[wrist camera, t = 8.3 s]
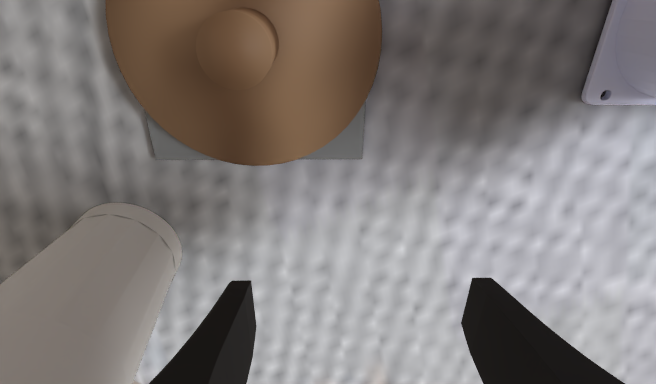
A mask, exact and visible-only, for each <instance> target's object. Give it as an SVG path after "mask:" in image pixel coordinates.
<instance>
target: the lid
mask: <svg viewBox="0 0 656 384" xmlns="http://www.w3.org/2000/svg"><path fill="white" fill-rule="evenodd" d="M106 20H107V27H108V34H109V38H110V42H111V45H112V49H113V53H114V56H115V58H116V61H117V63H118V66H119V68H120V71H121V73H122V75H123V77H124V79H125V81H126V82H127V84H128V86H129V88H130V90H131V91H132V93H133V94H134V96H135V97H136V99H137V100H138V102H139V103H140V104H141V105H142V107H143V108H144V109H145V110H146V111H147V113H148V114H149V115H150V116H151V117H152V118H153V119H154V120H155V121H156V122H157V123H158V124H159V125H160V126H161V127H162V128H163V129H164V130H166V131H167V132H168V133H169V134H171V135H172V136H173V137H175V138H176V139H177V140H179V141H180V142H182V143H184V144H185V145H187V146H189V147H190V148H192V149H194V150H196V151H198V152H200V153H202V154H204V155H207V156H209V157H212V158H215V159H218V160H221V161H225V162H230V163H234V164H241V165H251V166H259V165H274V164H281V163H285V162H289V161H293V160H296V159H299V158H302V157H304V156H306V155H309V154H311V153H313V152H315V151H316V150H318V149H320V148H322V147H324V146H325V145H326V144H328V143H329V142H330V141H332V140H333V139H334V138H336V137H337V136H338V135H339V134H340V133H341V132H342V131H343V130H344V129H345V128H346V127H347V126H348V125H349V124H350V122H351V121H352V120H353V119H354V117H355V116H356V115H357V113H358V112H359V110H360V109H361V107H362V105H363V104H364V102H365V100H366V98H367V96H368V94H369V92H370V89H371V87H372V85H373V82H374V79H375V75H376V72H377V69H378V64H379V59H380V53H381V41H382V23H381V10H380V5H379V0H106Z"/></svg>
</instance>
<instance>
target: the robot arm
mask: <svg viewBox="0 0 656 384" xmlns="http://www.w3.org/2000/svg"><path fill="white" fill-rule="evenodd" d="M605 90H606V94H605V95H604V97H602V98H600V97H601V94H602V92H604V91H605ZM581 98H582V101H584V102H585V103H587V104H590V105H656V0H612V3H611V7H610V10H609V13H608V16H607V19H606V22H605V25H604V28H603V31H602V34H601V37H600V40H599V43H598V46H597V49H596V52H595V55H594V58H593V61H592V64H591V67H590V70H589V73H588V76H587V80H586V83H585V86H584V89H583V92H582V96H581ZM461 324H462V327H463V331H464V334H465V338H466V341H467V344H468V347H469V351H470V354H471V356H472V358H473V361H474V363H475V365H476V368H477V370H478V372H479V375H480V377H481V379H482V381H483V384H625V383H623V382H622V381H620V380H618V379H617V378H616V377H614V376H613V375H611V374H610V373H608V372H607V371H605V370H604V369H602V368H601V367H600V366H598V365H597V364H595V363H594V362H592V361H591V360H590V359H588V358H587V357H586V356H584V355H583V354H581V353H580V352H579V351H578V350H576V349H575V348H574V347H572V346H571V345H570V344H568V343H567V342H566V341H565V340H563V339H562V338H561V337H560V336H558V335H557V334H556V333H555V332H553V331H552V330H551V329H550V328H548V327H547V326H546V325H545V324H544V323H542V322H541V321H540V320H539V319H538V318H537V317H535V316H534V315H533V314H532V313H531V312H530V311H528V310H527V309H526V308H525V307H524V306H523V305H522V304H520V303H519V302H518V301H517V300H516V299H515V298H514V297H513V296H511V295H510V294H509V293H508V292H507V291H506V290H505V289H503V288H502V287H501V286H500V285H499V284H498V283H497V282H495V281H494V280H493V279H492V278H472V282H471V286H470V290H469V294H468V298H467V302H466V306H465V310H464V314H463V318H462V322H461ZM255 332H256V320H255V311H254V303H253V294H252V286H251V281H231V282H230V283H229V284H228V286H227V287H226V289H225V290H224V292H223V293H222V295H221V296H220V298H219V299H218V301H217V302H216V304H215V305H214V307H213V308H212V309H211V311H210V312H209V314H208V315H207V316H206V318H205V319H204V320H203V322H202V323H201V324H200V326H199V327H198V328H197V330H196V331H195V332H194V333H193V335H192V336H191V337H190V338H189V340H188V341H187V342H186V343H185V344H184V346H183V347H182V348H181V349H180V350H179V352H178V353H177V354H176V355H175V356H174V357H173V359H172V360H171V361H170V362H169V363H168V364H167V365H166V366H165V367H164V369H163V370H162V371H161V372H160V373H159V374H158V375H157V376H156V377H155V378H154V379H153V380H152V381H151V382H150V383H149V384H246V383H247V379H248V374H249V370H250V366H251V361H252V357H253V349H254V341H255Z"/></svg>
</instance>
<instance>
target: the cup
mask: <svg viewBox="0 0 656 384" xmlns="http://www.w3.org/2000/svg"><path fill="white" fill-rule="evenodd" d="M181 260H182V247H181V243H180V240H179V238H178V236H177V234H176V233H175V231H174V230H173V229H172V227H171V226H170V225H169V224H168V223H167V222H166V221H165V220H164V219H162V218H161V217H160V216H158V215H157V214H155V213H153V212H152V211H150V210H148V209H145V208H143V207H140V206H137V205H133V204H128V203H106V204H101V205H98V206H96V207H93V208H91V209H90V210H88V211H87V212H86V213H84V214H83V215H82V216H81V217H80V218H79V219H78V220H77V221H76V222H75V223H74V224H73V225H72V226H71V227H70V228H69V229H68V230H67V231H66V232H65V233H64V234H62V235H61V236H60V237H59V238H57V239H56V240H55V241H54V242H52V243H51V244H50V245H49V246H47V247H46V248H45V249H44V250H42V251H41V252H40V253H39V254H37V255H36V256H35V257H34V258H32V259H31V260H30V261H29V262H27V263H26V264H25V265H24V266H22V267H21V268H20V269H19V270H17V271H16V272H15V273H14V274H12V275H11V276H10V277H9V278H7V279H6V280H5V281H4V282H2V283H1V284H0V384H133V381H134V378H135V376H136V373H137V371H138V368H139V365H140V363H141V360H142V357H143V355H144V352H145V350H146V347H147V344H148V342H149V339H150V336H151V334H152V331H153V328H154V326H155V323H156V321H157V318H158V315H159V313H160V310H161V307H162V305H163V302H164V300H165V297H166V294H167V292H168V289H169V286H170V284H171V282H172V280H173V278H174V276H175V274H176V272H177V270H178V268H179V266H180V263H181Z"/></svg>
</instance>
